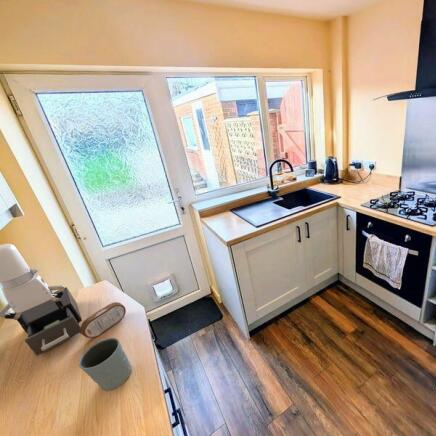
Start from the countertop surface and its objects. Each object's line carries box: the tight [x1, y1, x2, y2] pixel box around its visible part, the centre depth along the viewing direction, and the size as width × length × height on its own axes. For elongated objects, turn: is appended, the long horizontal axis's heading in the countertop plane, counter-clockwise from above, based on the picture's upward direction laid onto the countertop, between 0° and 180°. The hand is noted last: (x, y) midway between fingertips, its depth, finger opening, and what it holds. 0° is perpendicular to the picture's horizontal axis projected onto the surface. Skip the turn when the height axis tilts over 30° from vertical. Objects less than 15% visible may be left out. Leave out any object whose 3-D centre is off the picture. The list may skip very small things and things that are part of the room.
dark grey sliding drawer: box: [24, 306, 81, 357], centre depth 92 cm, size 20×13×8 cm, turn 46°
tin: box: [79, 301, 127, 339], centre depth 95 cm, size 15×3×8 cm, turn 149°
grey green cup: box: [78, 337, 133, 392], centre depth 75 cm, size 10×10×12 cm
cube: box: [44, 320, 60, 329], centre depth 93 cm, size 4×4×4 cm
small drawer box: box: [20, 286, 82, 335], centre depth 101 cm, size 16×15×10 cm
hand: (44, 316), depth 90 cm, fingers open, 9 cm apart
